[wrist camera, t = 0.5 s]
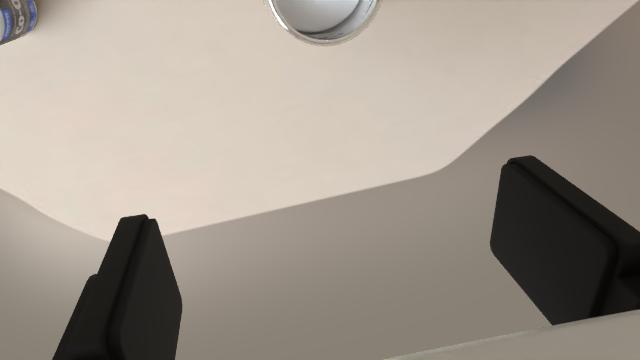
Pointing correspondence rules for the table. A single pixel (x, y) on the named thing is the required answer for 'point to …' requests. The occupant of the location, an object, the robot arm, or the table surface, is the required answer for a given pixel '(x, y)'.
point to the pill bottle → (16, 19)
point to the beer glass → (323, 18)
